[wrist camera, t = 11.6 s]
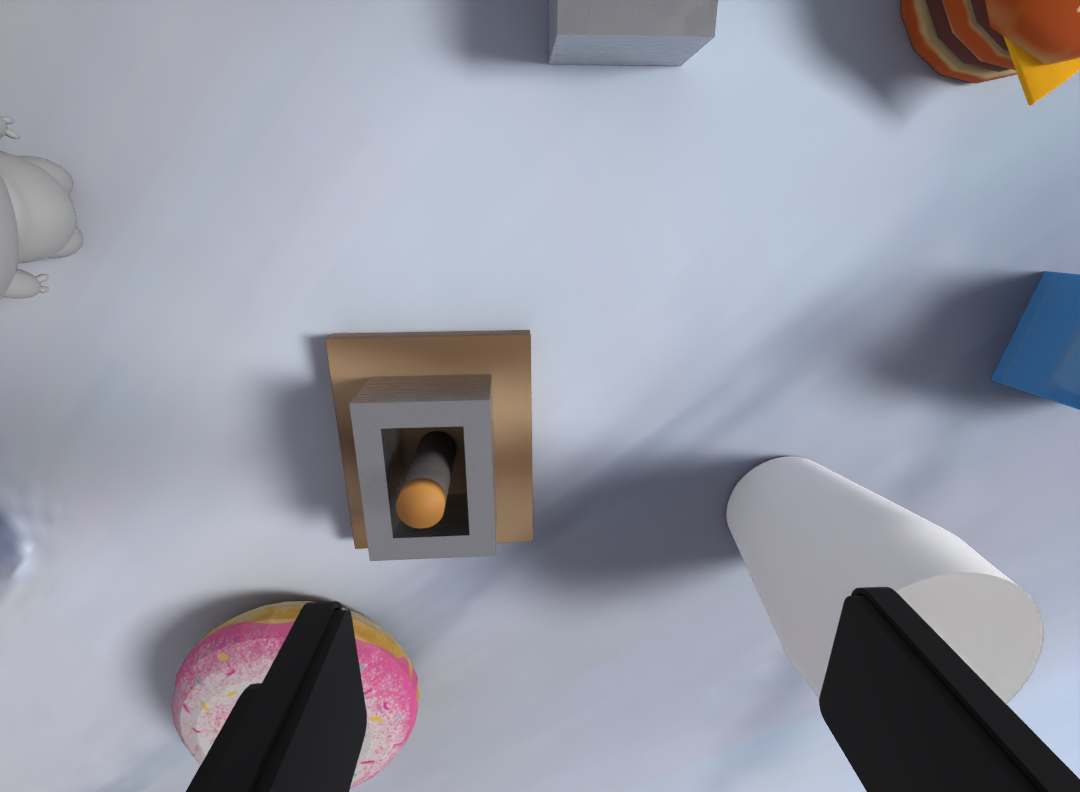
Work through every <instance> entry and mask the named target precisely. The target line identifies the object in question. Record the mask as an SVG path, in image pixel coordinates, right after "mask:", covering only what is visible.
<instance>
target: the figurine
mask: <svg viewBox="0 0 1080 792" xmlns="http://www.w3.org/2000/svg"><path fill="white" fill-rule="evenodd" d="M13 123H14V120H13V119H12V118H10V117H8V116H0V138H2V137H3V136H4V135H7V136H8V137H10V138H13V139H19V135H18V134H17V133H16V132H14V131H12V130H10V129H7V124H13ZM72 188H73V182H72V179H71V176H70V175H69V173H68V172H67V171H66V170H64V169H63V168H62V167H61V166H59V165H58V164H56V163H54V162H51V161H49V160H46V159H43V158H38V157H32V156H15V155H12V154H8V153H5V152H1V151H0V298H1V297H6V298H28V297H32V296H35V295H36V294H38V293H39V292H41V293H44V292H48V291H49V288H48V287H46V286H41V284H40V282H44V281H45V280H47V279H48V275H47V274H40V275H38V276H36V277H35V276H33V275H32V274H30V273H28V272H25V271H23V270H20V269H17V263H27V262H33V261H37V260H40V259H44V258H61V257H66V256H69V255H71V254H74V253H75V252H77V251H78V250H79V249H80V247H81V246H82V244H83V237H82V234H81V232H80V230H79V229H78V228H77V227H76V212H75V208H74V205H73V202H72V200H71V198H70V196H69V194H70V192H71V191H72Z"/></svg>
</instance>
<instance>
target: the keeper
mask: <svg viewBox="0 0 1080 792" xmlns="http://www.w3.org/2000/svg"><path fill="white" fill-rule="evenodd" d="M325 340H326V347H327V354H328V361H329V368H330V375H331V382H332V390H333V397H334V404H335V411H336V418H337V425H338V432H339V439H340V446H341V453H342V460H343V467H344V474H345V481H346V488H347V495H348V503H349V510H350V517H351V524H352V531H353V538H354V545H355V549H361V548H368V542H367V535H366V527H365V520H364V512H363V504H362V497H361V489H360V481H359V474H358V466H357V459H356V451H355V443H354V436H353V428H352V420H351V413H350V405H349V403H350V402H351V401H352V400H353V399H354V397H355V396H356V395H357V394H358V393H359V391H360V390H361V389H362V388H363V387H364V385H365V384H366V383H367V382H368V381H369V379H370V378H371V377H379V376H424V375H468V374H492V389H493V417H494V445H495V473H496V501H497V526H496V543H504V542H527V541H533V503H532V414H531V335H530V330H513V331H458V332H403V333H348V334H332V335H330V336H329V337H328V338H326V339H325ZM401 431H402V441H403V451H404V461H405V472H406V479H405V481H404V484H403V486H402V489H401V492H400V494H399V497H398V500H397V503H396V511H397V514H398V516H399V518H400V519H401V520H402V521H403V522H404V523H405V524H407V525H408V526H411V527H414V528H428V527H431V526H433V525H435V524H436V523H438V522H439V521H440V519H441V518H442V516H443V513H444V509H445V504H446V499H447V494H467V480H466V462H465V444H464V426H457V427H422V428H401Z"/></svg>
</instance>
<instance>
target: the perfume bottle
mask: <svg viewBox="0 0 1080 792" xmlns="http://www.w3.org/2000/svg"><path fill="white" fill-rule="evenodd" d="M991 380H992V381H995V382H998V383H1001V384H1004V385H1007V386H1010V387H1013V388H1016V389H1019V390H1022V391H1025V392H1028V393H1031V394H1034V395H1037V396H1040V397H1043V398H1046V399H1049V400H1052V401H1055V402H1058V403H1061V404H1064V405H1067V406H1070V407H1073V408H1076V409H1079V410H1080V275H1078V274H1068V273H1058V272H1048V271H1044V273H1043V275H1042V277H1041V279H1040V281H1039V283H1038V285H1037V287H1036V289H1035V292H1034V294H1033V296H1032V298H1031V300H1030V302H1029V304H1028V306H1027V308H1026V310H1025V312H1024V314H1023V316H1022V318H1021V320H1020V322H1019V324H1018V326H1017V328H1016V330H1015V332H1014V334H1013V336H1012V338H1011V340H1010V342H1009V344H1008V346H1007V348H1006V350H1005V352H1004V354H1003V356H1002V358H1001V360H1000V362H999V364H998V366H997V368H996V370H995V372H994V374H993V376H992V378H991Z"/></svg>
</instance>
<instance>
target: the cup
mask: <svg viewBox="0 0 1080 792" xmlns="http://www.w3.org/2000/svg"><path fill="white" fill-rule="evenodd" d="M726 516H727V523H728V526H729V529H730V531H731V534H732V536H733V538H734V540H735V542H736V545H737V547H738V549H739V551H740V554H741V556H742V558H743V560H744V562H745V565H746V567H747V569H748V571H749V574H750V576H751V578H752V580H753V582H754V585H755V587H756V589H757V591H758V594H759V596H760V598H761V600H762V602H763V605H764V607H765V609H766V611H767V613H768V616H769V618H770V620H771V622H772V624H773V627H774V629H775V631H776V633H777V635H778V638H779V640H780V642H781V644H782V646H783V648H784V650H785V652H786V654H787V656H788V658H789V660H790V661H791V663H792V664H793V666H794V667H795V668H796V669H797V671H798V672H799V673H800V674H801V675H802V677H803V678H804V679H805V680H806V682H807V683H808V684H809V686H810V687H811V688H812V690H813V691H814V693H815V694H816V695H817V697H818V698H820V693H821V689H822V685H823V681H824V678H825V674H826V670H827V666H828V662H829V658H830V654H831V650H832V646H833V642H834V639H835V635H836V631H837V627H838V623H839V619H840V615H841V611H842V607H843V603H844V600H845V598H846V597H847V596H851V594H852V592H853V590H854V589H856V588H861V587H889V588H892V589H893V590H894V591H896V592H897V593H898V594H899V595H900V596H901V597H902V598H903V599H904V600H905V601H906V602H907V603H908V604H909V605H910V606H911V607H912V608H913V609H914V610H915V611H916V612H917V614H918V615H919V616H920V617H921V618H922V619H923V620H924V621H925V622H926V623H927V624H928V625H929V626H930V627H931V628H932V629H933V630H934V631H935V632H936V633H937V634H938V635H939V636H940V637H941V638H942V639H943V640H944V641H945V642H946V643H947V644H948V645H949V646H950V647H951V648H952V649H953V650H954V651H955V652H956V653H957V654H958V655H959V656H960V657H961V658H962V660H963V661H964V662H965V663H966V664H967V665H968V666H969V667H970V668H971V669H972V670H973V671H974V672H975V673H976V674H977V675H978V676H979V677H980V678H981V679H982V680H983V681H984V682H985V683H986V684H987V685H988V686H989V687H990V688H991V689H992V690H993V691H994V692H995V693H996V694H997V695H998V696H999V697H1000V698H1001V699H1002V700H1003V701H1004V702H1005V703H1006V704H1007V703H1008V702H1009V701H1010V700H1011V699H1012V698H1013V697H1014V696H1015V695H1016V694H1017V693H1018V691H1019V690H1020V689H1021V688H1022V687H1023V685H1024V684H1025V683H1026V681H1027V680H1028V678H1029V676H1030V675H1031V673H1032V671H1033V669H1034V668H1035V666H1036V663H1037V661H1038V658H1039V656H1040V652H1041V649H1042V643H1043V623H1042V618H1041V615H1040V612H1039V610H1038V607H1037V606H1036V604H1035V602H1034V601H1033V600H1032V598H1031V597H1030V596H1029V595H1028V594H1027V593H1026V592H1025V591H1024V590H1023V589H1022V588H1020V587H1019V586H1018V585H1016V584H1015V583H1014V582H1013V581H1011V580H1010V579H1009V578H1008V577H1006V576H1005V575H1004V574H1003V573H1001V572H1000V571H999V570H998V569H996V568H995V567H994V566H993V565H991V564H990V563H989V562H988V561H986V560H985V559H984V558H983V557H982V556H980V555H979V554H978V553H977V552H976V551H974V550H973V549H972V548H971V547H970V546H969V545H967V544H966V543H965V542H964V541H962V540H961V539H960V538H958V537H957V536H955V535H953V534H952V533H950V532H948V531H947V530H945V529H943V528H941V527H939V526H937V525H935V524H933V523H932V522H930V521H928V520H926V519H924V518H922V517H920V516H918V515H916V514H914V513H912V512H910V511H908V510H906V509H905V508H903V507H901V506H899V505H897V504H895V503H893V502H891V501H889V500H887V499H885V498H883V497H881V496H879V495H877V494H875V493H873V492H871V491H870V490H868V489H866V488H864V487H862V486H860V485H858V484H856V483H854V482H852V481H850V480H848V479H846V478H844V477H842V476H840V475H838V474H836V473H835V472H833V471H831V470H829V469H827V468H825V467H823V466H821V465H819V464H817V463H815V462H813V461H811V460H808V459H805V458H801V457H780V458H775V459H772V460H769V461H766V462H764V463H762V464H760V465H758V466H756V467H755V468H753V469H752V470H750V471H749V472H748V473H747V474H746V475H745V476H744V477H743V478H742V479H741V480H740V481H739V482H738V483H737V485H736V486H735V488H734V490H733V491H732V493H731V495H730V498H729V501H728V505H727V514H726Z"/></svg>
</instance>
